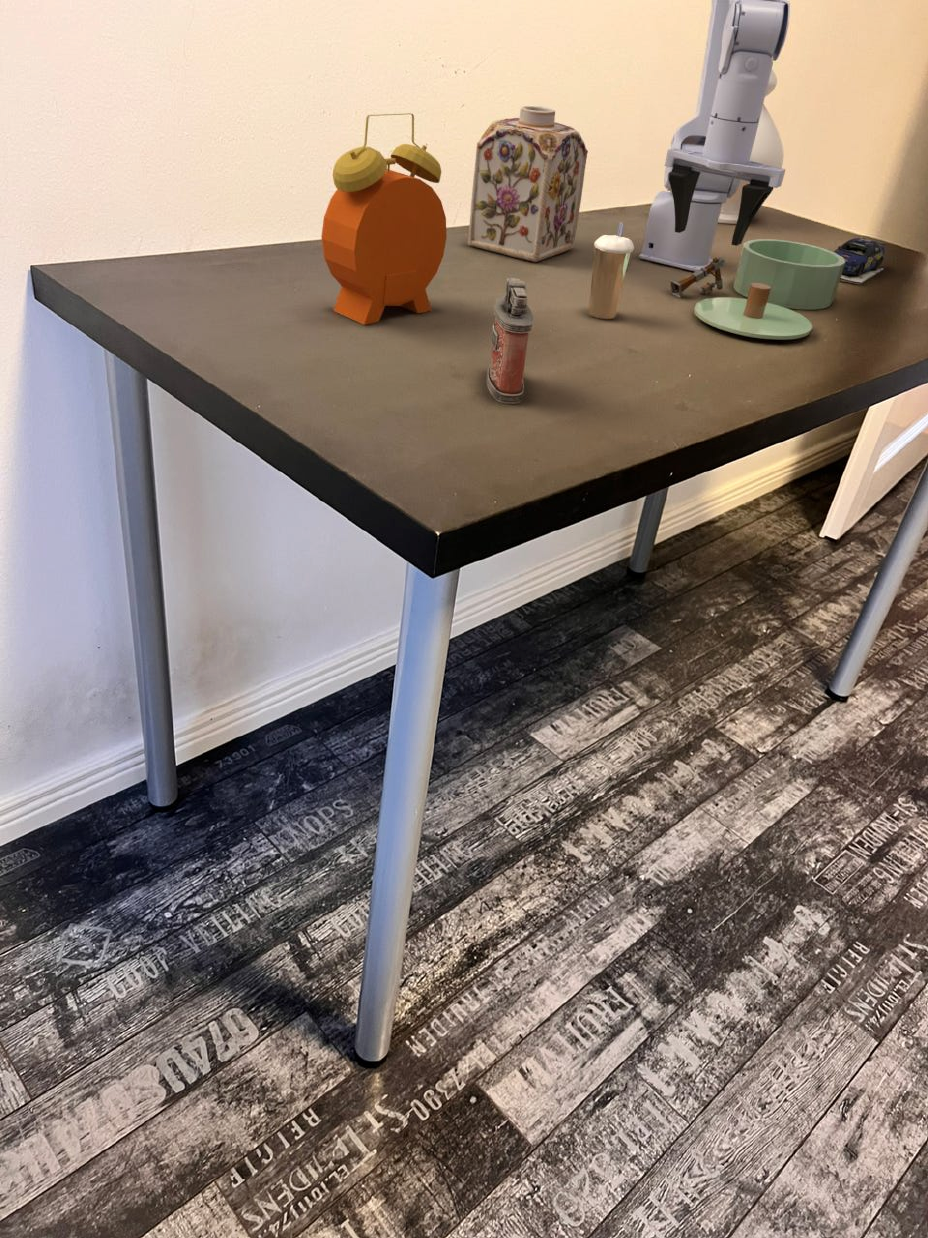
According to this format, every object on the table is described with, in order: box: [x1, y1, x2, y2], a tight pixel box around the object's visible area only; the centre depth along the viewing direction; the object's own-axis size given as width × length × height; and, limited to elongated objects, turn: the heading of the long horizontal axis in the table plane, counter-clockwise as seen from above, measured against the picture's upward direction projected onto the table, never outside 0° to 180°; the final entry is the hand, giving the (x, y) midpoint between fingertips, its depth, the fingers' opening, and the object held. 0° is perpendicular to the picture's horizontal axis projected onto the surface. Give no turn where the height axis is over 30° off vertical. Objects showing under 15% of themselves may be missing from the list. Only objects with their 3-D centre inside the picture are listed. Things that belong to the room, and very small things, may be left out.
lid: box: [693, 283, 813, 341], centre depth 115 cm, size 14×14×5 cm
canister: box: [733, 238, 845, 311], centre depth 128 cm, size 13×13×6 cm
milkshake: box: [588, 222, 635, 320], centre depth 112 cm, size 4×5×10 cm
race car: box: [833, 237, 887, 286], centre depth 142 cm, size 15×7×4 cm, turn 145°
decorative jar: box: [467, 105, 589, 263], centre depth 132 cm, size 12×12×18 cm
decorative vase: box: [718, 56, 784, 225], centre depth 161 cm, size 18×18×25 cm
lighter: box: [486, 277, 534, 405], centre depth 90 cm, size 8×3×10 cm, turn 5°
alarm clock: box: [320, 112, 448, 326], centre depth 103 cm, size 13×6×20 cm, turn 134°
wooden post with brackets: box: [669, 257, 726, 298], centre depth 125 cm, size 2×8×4 cm, turn 117°
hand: (707, 237), depth 121 cm, fingers open, 7 cm apart
